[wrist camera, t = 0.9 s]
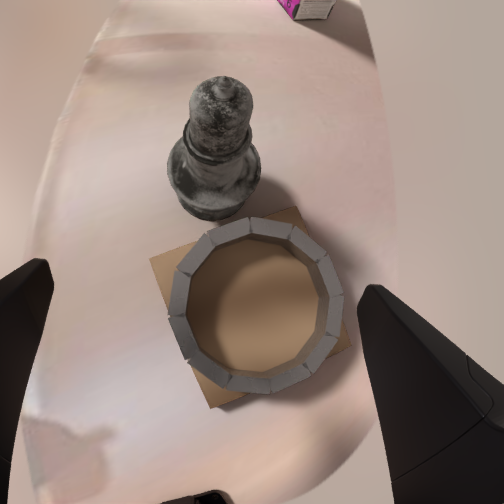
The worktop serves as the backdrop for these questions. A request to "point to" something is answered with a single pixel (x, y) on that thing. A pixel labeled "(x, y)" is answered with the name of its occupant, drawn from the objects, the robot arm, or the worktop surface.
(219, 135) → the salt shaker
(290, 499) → the worktop surface
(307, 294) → the socket base
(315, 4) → the candy bar box
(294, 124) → the worktop surface
